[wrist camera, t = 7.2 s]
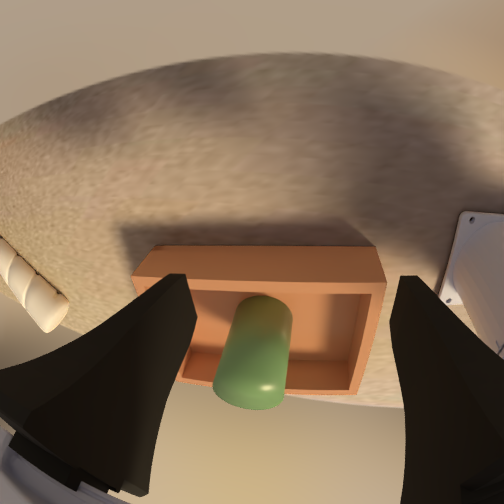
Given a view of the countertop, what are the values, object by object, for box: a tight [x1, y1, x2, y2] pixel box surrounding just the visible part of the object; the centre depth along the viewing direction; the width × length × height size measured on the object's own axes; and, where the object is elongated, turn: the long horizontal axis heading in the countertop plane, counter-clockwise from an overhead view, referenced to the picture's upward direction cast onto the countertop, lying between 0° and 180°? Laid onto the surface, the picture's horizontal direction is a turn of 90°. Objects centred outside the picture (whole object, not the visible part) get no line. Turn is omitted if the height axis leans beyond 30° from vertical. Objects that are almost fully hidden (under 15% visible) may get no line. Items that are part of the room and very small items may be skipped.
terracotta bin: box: [131, 246, 387, 395], centre depth 22 cm, size 16×12×4 cm
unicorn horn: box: [0, 238, 70, 333], centre depth 25 cm, size 5×24×5 cm, turn 46°
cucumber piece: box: [212, 296, 293, 410], centre depth 20 cm, size 4×4×7 cm
